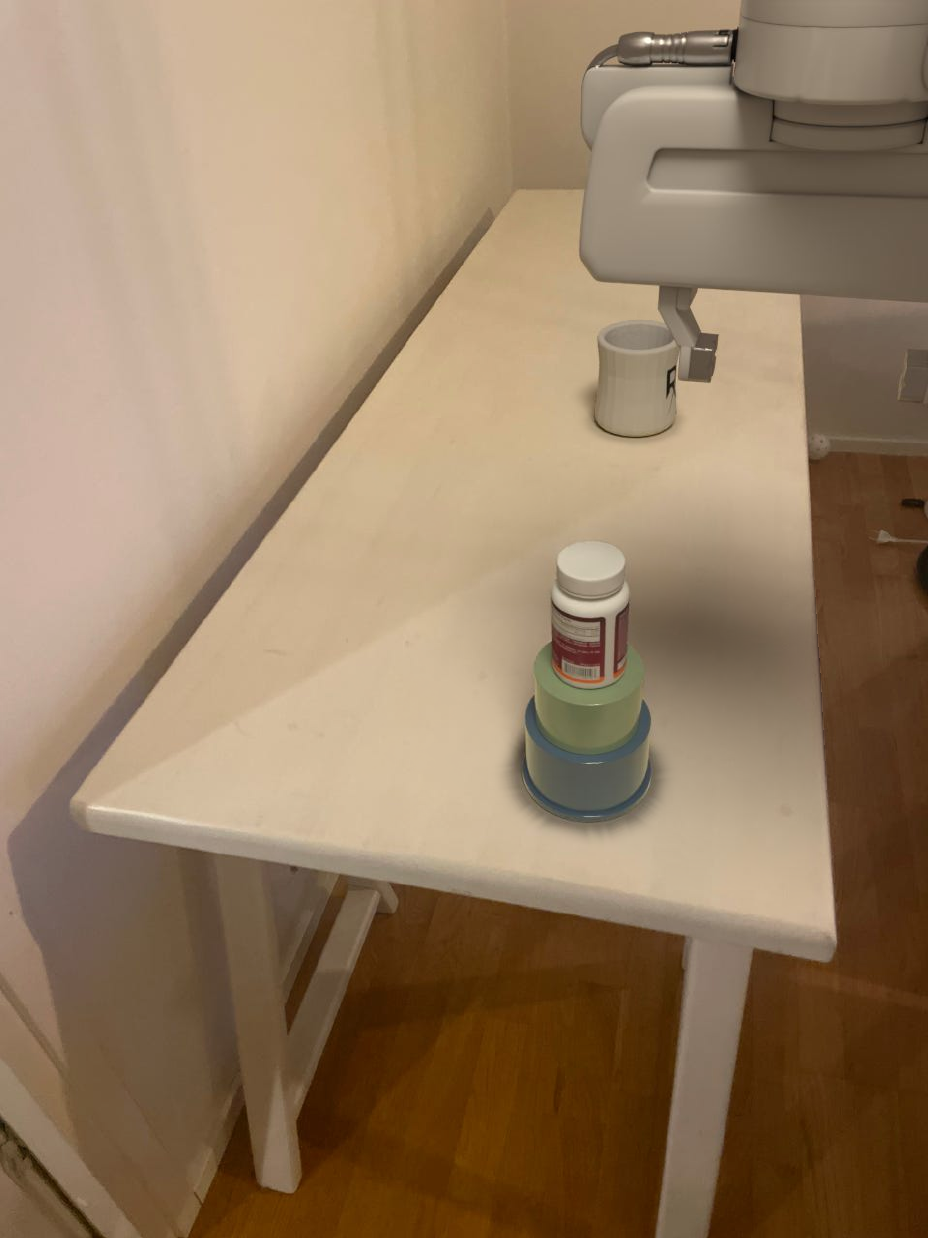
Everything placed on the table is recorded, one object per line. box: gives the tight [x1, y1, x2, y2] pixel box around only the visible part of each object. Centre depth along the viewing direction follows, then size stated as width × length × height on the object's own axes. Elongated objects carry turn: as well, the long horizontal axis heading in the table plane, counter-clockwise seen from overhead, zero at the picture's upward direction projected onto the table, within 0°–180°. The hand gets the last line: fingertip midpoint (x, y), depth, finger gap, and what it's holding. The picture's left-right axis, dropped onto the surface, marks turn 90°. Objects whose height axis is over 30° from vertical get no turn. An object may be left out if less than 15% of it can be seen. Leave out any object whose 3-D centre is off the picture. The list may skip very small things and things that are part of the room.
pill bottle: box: [550, 540, 631, 689], centre depth 57 cm, size 5×5×8 cm
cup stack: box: [521, 640, 652, 823], centre depth 63 cm, size 9×9×10 cm
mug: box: [594, 319, 680, 438], centre depth 104 cm, size 12×9×10 cm
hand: (802, 386), depth 42 cm, fingers open, 8 cm apart
